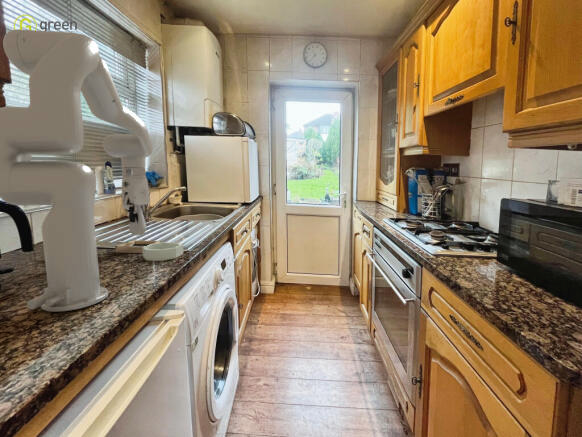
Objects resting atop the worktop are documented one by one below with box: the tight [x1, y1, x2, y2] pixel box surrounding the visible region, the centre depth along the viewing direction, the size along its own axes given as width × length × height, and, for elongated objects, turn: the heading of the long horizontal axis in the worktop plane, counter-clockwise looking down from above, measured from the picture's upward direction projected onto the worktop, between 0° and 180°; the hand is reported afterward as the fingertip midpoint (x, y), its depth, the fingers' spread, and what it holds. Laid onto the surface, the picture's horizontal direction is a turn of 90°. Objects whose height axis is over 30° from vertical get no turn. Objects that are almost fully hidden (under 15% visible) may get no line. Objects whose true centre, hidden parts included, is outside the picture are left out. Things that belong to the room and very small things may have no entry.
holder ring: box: [142, 241, 184, 262], centre depth 102 cm, size 12×12×4 cm
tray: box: [114, 239, 162, 254], centre depth 111 cm, size 11×11×2 cm
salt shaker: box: [128, 203, 147, 236], centre depth 109 cm, size 6×6×13 cm
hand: (137, 223), depth 110 cm, fingers closed on salt shaker, 3 cm apart
